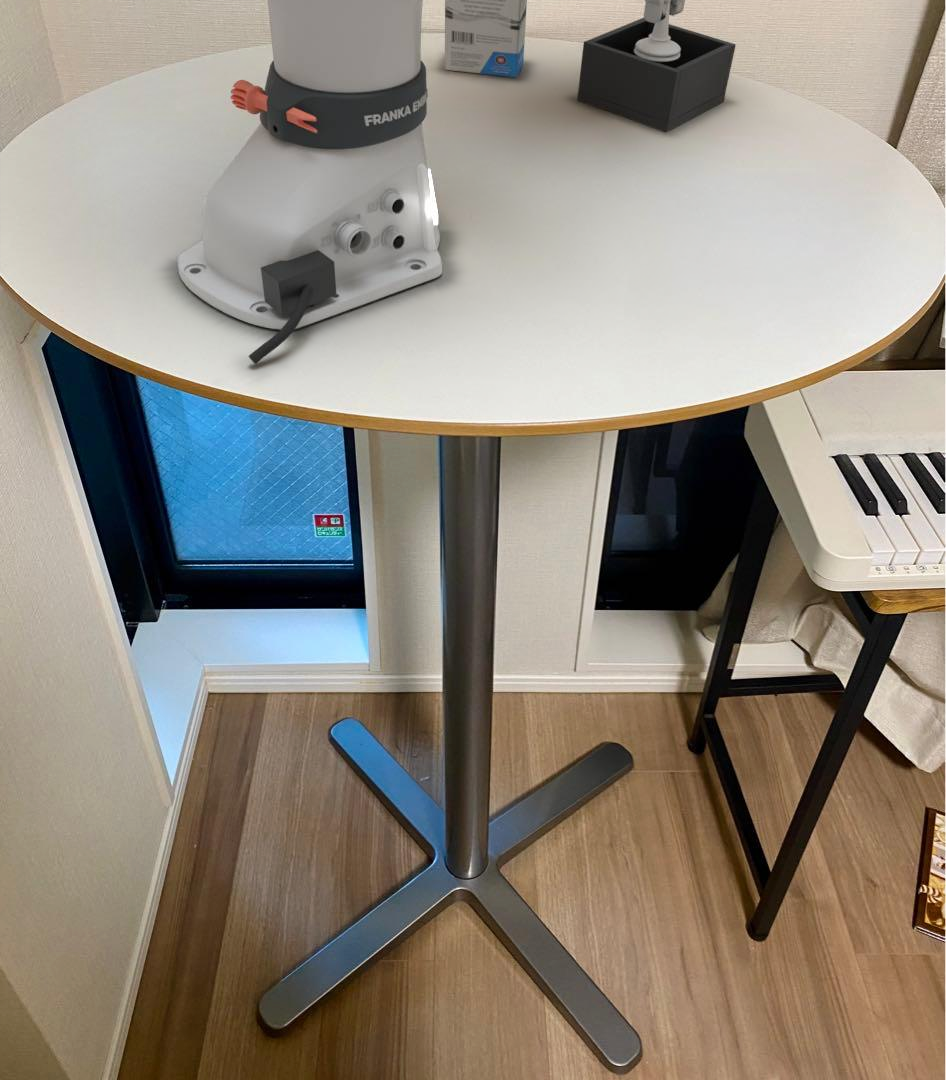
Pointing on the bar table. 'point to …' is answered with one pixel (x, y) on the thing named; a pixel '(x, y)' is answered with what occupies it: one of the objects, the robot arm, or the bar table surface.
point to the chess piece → (658, 43)
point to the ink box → (485, 36)
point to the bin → (654, 75)
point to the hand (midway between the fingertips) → (663, 16)
